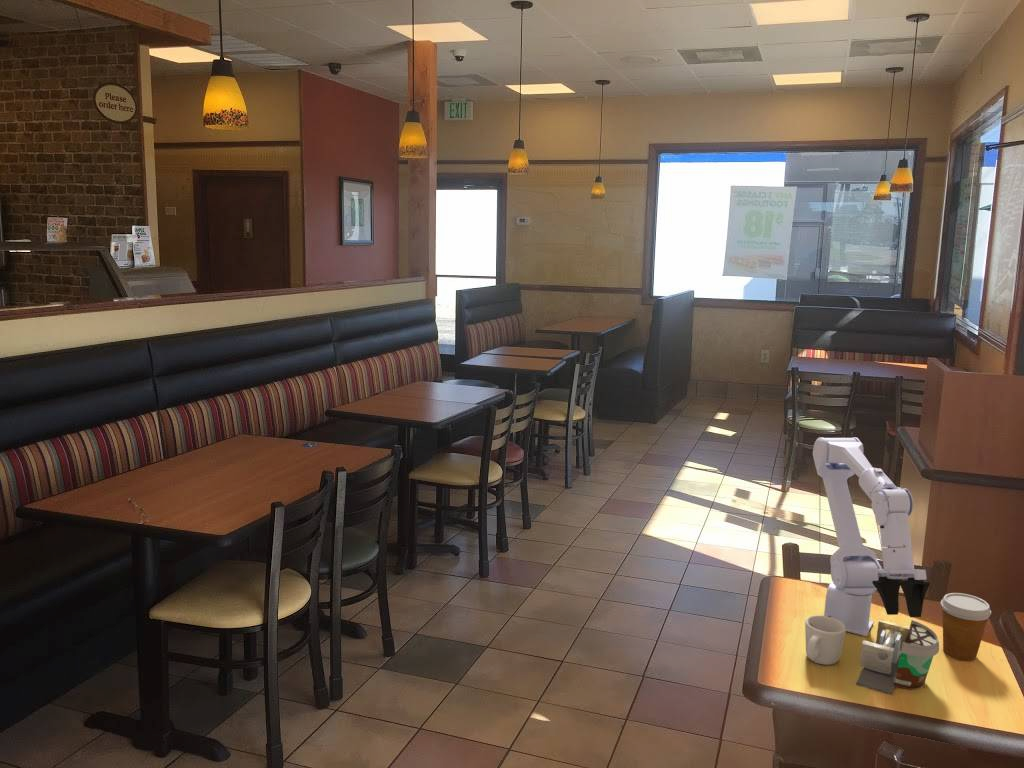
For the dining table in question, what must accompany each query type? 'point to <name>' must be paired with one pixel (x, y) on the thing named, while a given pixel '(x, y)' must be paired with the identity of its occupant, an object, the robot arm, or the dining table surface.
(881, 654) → the shaft
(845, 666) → the dining table surface
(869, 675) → the mat
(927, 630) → the food container
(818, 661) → the cup
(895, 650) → the bearing block
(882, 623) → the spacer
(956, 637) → the disposable coffee cup
